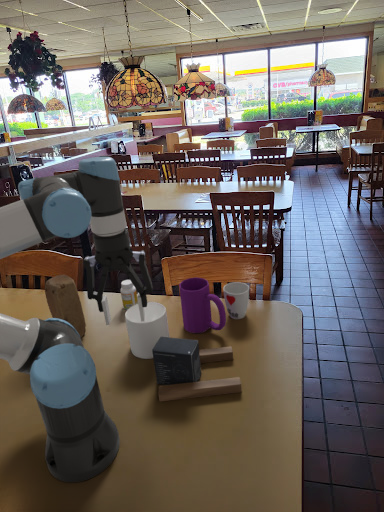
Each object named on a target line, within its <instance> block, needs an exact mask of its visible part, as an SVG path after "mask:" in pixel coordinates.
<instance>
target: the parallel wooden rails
mask: <svg viewBox="0 0 384 512" xmlns="http://www.w3.org/2000/svg"><path fill="white" fill-rule="evenodd" d="M199 355H200V364H202V363H204V364H205V363H212V362H214V363H215V362H221V361H222V362H223V361H230V360H234V352H233V348H232V346H231V345H230V346H223V347H222V346H221V347H212V348H206V349H205V348H204V349H199ZM239 393H242V383H241V378H240V376H236V377H230V378H229V377H228V378H220V379H219V378H217V379H210V380H209V379H208V380H201V381H200V380H199V381H198V382H190V383H182V384H173V385H164V384H163V385H159V386H158V399H159V402H166V401H174V400H175V401H176V400H184V399H191V398H192V399H193V398H199V397H200V398H202V397H212V396H218V395H220V396H221V395H229V394H239Z"/></svg>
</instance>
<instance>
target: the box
mask: <svg viewBox="0 0 384 512" xmlns="http://www.w3.org/2000/svg"><path fill="white" fill-rule="evenodd" d="M199 350H200V347H199V340H198V339H189V338H178V337H171V336H169V337H160V338H159V340H158V341H157V343H156V344H155V346H154V347H153V349H152V352H153V358H152V359H153V365H154V371H155V379H156V384H157V385H163V386H164V385H173V384H182V383H190V382H199V381H200V378H201V375H202V368H201V367H202V366H201V363H200V355H199Z"/></svg>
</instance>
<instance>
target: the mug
mask: <svg viewBox="0 0 384 512" xmlns="http://www.w3.org/2000/svg"><path fill="white" fill-rule="evenodd" d="M178 286H179V294H180V295H179V296H180V304H181V305H180V306H181V315H182V323H183V329H184V330H185V331H187V332H189V333H191V334H192V333H193V334H201V333H205V332H206V331H208V330H209V329H212V330H214V331H221V330H222V329H224V328H225V326H226V322H227V315H226V309H225V305H224V303H223V301H222V300H221V298H220V297H219V296H218V295H216V294H213V293H210V284H209V280H208V279H206V278H203V277H191V278H189V277H188V278H186V279H184V280H182V281H181V282H180V283H179V284H178ZM211 301H212V302H213V303H214V304H215V306H216V307H217V310H218V315H219V323H216V322H215V321H214V320H213V319H212V310H211V309H212V308H211V307H212V306H211V305H212V304H211Z"/></svg>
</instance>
